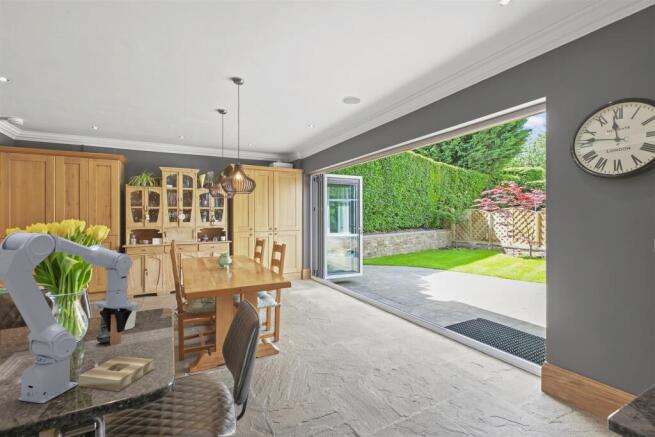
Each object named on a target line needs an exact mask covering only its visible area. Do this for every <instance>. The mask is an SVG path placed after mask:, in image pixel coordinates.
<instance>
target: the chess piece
mask: <svg viewBox="0 0 655 437" xmlns="http://www.w3.org/2000/svg"><path fill="white" fill-rule="evenodd" d="M99 327H100V330H99V333H98V334H96V335H95V338H96V341H97V342H98V343H97V344H96V347H97V346H99V347H98V348H104V347H103V346H105V347H108V345H109V346H111V345H110V333H111V331H110V332H108V330H107V327H106V324H105V321H104V319H103V317H102V316H101V317H100V324H99ZM101 346H102V347H101Z"/></svg>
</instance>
